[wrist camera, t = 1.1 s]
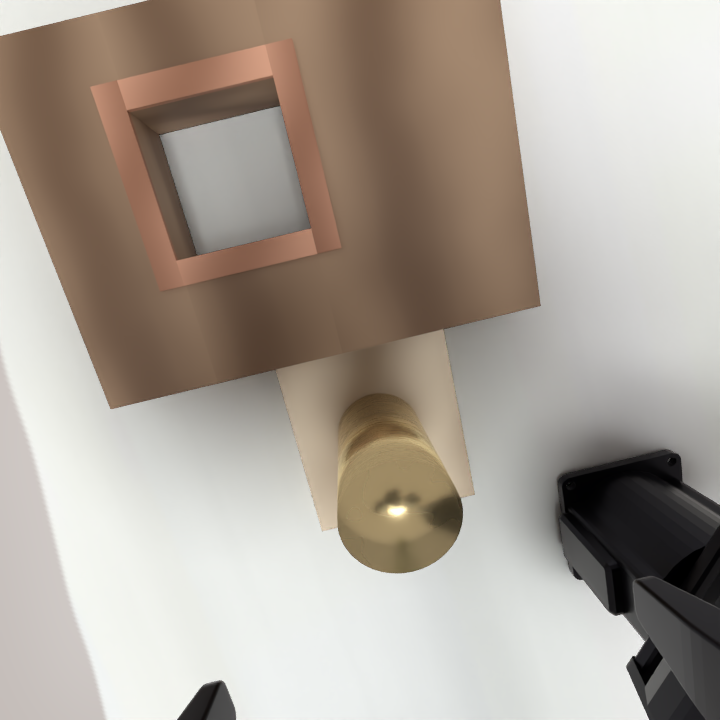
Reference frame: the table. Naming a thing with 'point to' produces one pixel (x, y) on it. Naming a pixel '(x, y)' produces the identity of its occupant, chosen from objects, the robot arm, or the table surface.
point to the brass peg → (393, 488)
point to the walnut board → (320, 192)
